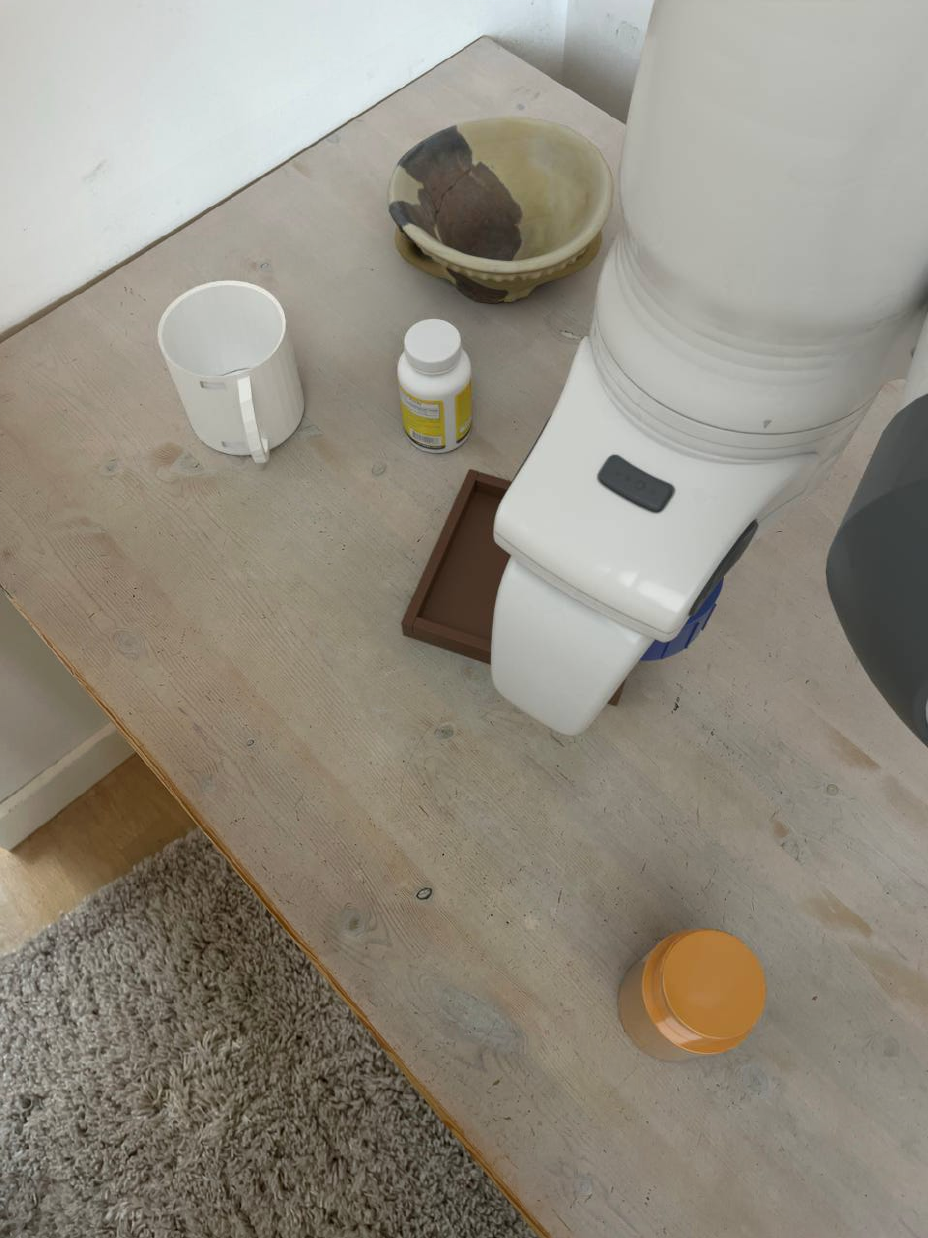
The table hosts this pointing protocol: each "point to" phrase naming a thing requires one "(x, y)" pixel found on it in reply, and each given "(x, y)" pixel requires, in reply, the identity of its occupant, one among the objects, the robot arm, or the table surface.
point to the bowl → (501, 205)
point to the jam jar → (692, 996)
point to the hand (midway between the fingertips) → (644, 585)
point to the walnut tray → (464, 576)
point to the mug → (233, 367)
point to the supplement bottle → (435, 387)
